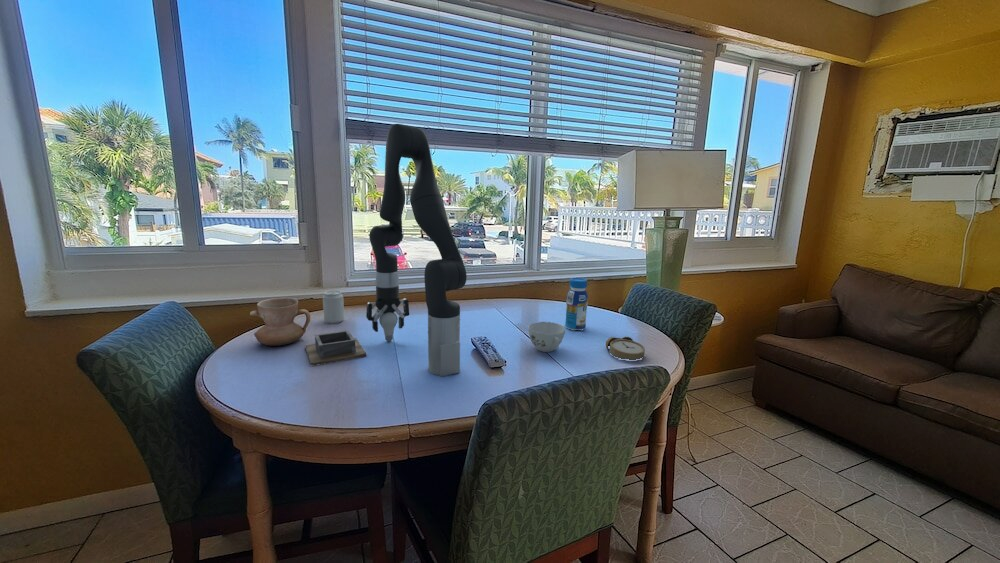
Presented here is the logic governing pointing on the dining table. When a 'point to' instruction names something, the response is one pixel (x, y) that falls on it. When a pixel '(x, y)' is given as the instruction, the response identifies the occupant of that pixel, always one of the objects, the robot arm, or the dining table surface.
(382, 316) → the lightbulb
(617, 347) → the alarm clock
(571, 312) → the beverage bottle
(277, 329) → the ceramic jug
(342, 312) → the can
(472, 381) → the dining table surface
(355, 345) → the socket
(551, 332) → the teacup
